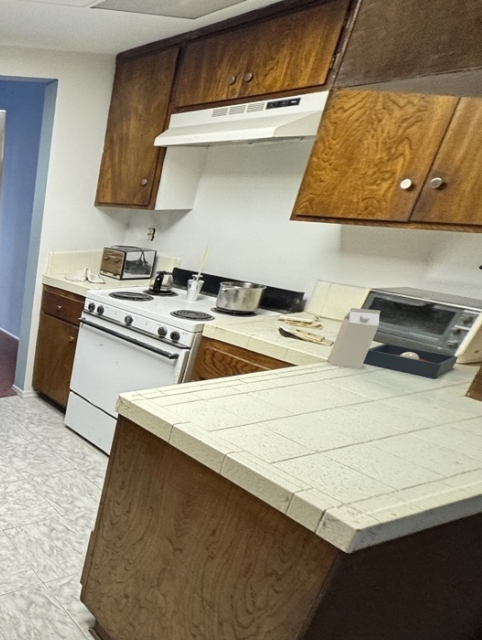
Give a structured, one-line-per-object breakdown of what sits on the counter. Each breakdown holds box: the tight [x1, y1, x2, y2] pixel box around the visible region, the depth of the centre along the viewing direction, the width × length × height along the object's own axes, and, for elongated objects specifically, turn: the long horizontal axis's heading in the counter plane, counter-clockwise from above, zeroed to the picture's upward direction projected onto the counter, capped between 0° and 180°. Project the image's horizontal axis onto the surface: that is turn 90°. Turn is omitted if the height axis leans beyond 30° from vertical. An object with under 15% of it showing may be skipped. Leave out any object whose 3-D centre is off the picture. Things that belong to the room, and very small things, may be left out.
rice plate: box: [397, 352, 428, 362], centre depth 154 cm, size 10×10×5 cm
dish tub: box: [362, 342, 459, 380], centre depth 155 cm, size 18×18×5 cm
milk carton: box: [327, 307, 381, 370], centre depth 153 cm, size 7×7×19 cm
